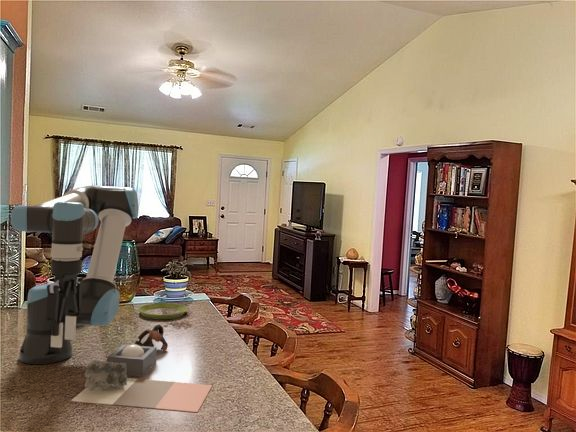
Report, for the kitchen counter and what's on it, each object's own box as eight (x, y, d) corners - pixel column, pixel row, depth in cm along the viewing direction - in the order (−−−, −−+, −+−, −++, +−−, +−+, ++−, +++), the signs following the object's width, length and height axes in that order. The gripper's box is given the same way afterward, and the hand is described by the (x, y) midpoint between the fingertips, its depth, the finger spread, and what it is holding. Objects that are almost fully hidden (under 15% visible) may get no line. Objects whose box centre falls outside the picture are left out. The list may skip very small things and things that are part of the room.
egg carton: (82, 391, 118) (87, 381, 117) (84, 367, 124) (88, 357, 122) (123, 393, 123) (128, 383, 122) (123, 370, 129) (128, 360, 128)
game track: (70, 401, 115) (70, 400, 115) (100, 376, 131) (100, 375, 131) (197, 412, 113) (197, 411, 113) (212, 385, 129) (212, 385, 129)
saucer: (180, 323, 188) (180, 316, 187) (131, 320, 188) (131, 313, 188) (191, 311, 208) (191, 304, 208) (147, 308, 208) (147, 301, 208)
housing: (106, 373, 133) (107, 356, 133) (122, 359, 144) (123, 344, 144) (142, 376, 133) (143, 359, 132) (155, 362, 144) (156, 347, 143)
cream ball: (116, 370, 135) (117, 347, 135) (125, 362, 142) (126, 340, 142) (138, 372, 135) (139, 349, 134) (147, 364, 142) (148, 342, 141)
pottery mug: (164, 359, 150) (147, 345, 146) (144, 365, 154) (127, 352, 150) (175, 330, 159) (160, 316, 155) (157, 337, 163) (141, 323, 159)
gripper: (60, 264, 112) (56, 355, 113) (97, 255, 131) (93, 333, 132) (31, 262, 112) (27, 353, 113) (72, 253, 131) (69, 331, 132)
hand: (63, 342), depth 122 cm, fingers open, 6 cm apart
